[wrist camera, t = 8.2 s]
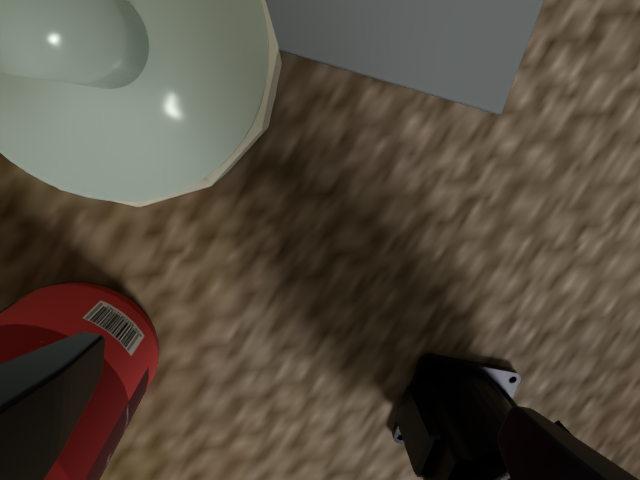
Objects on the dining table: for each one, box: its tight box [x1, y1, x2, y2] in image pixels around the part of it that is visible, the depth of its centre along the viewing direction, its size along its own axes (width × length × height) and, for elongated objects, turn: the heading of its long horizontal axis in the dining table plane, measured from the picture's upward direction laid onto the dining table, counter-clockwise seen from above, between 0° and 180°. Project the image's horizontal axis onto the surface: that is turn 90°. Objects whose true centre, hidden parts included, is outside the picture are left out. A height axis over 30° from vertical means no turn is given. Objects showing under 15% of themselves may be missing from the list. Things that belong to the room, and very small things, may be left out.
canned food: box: [0, 282, 158, 480], centre depth 16 cm, size 8×8×11 cm
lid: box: [0, 0, 269, 202], centre depth 10 cm, size 10×10×5 cm
